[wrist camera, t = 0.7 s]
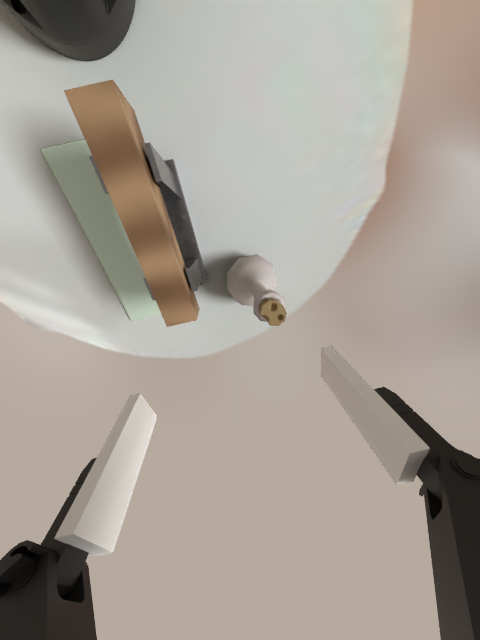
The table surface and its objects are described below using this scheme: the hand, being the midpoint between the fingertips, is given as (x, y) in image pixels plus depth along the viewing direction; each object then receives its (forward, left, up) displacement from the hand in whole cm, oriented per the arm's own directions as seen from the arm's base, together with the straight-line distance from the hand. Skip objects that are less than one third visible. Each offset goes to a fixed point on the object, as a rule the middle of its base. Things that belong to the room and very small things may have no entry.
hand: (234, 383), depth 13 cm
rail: (-11, -6, -16) cm, 21 cm away
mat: (-11, -15, -24) cm, 31 cm away
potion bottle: (-2, +5, -25) cm, 25 cm away
